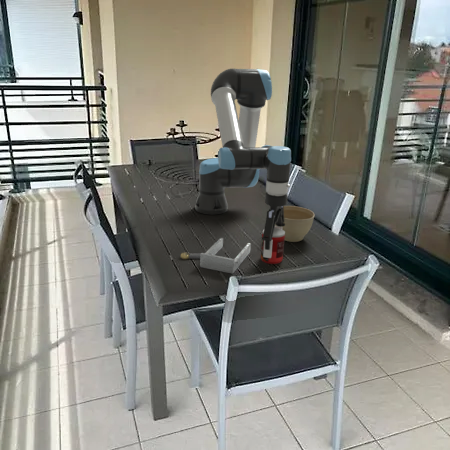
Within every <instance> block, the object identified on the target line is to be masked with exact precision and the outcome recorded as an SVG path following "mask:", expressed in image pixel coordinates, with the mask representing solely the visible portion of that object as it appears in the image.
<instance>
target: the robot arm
mask: <svg viewBox="0 0 450 450" xmlns="http://www.w3.org/2000/svg"><path fill="white" fill-rule="evenodd" d="M272 82H273V81H272V77H271V74H270V72H269V71H268V70H266V69H259V68H228V69H225V70H224V71H221V72H220V73H219V74H218V75H217V76H216V77H215V79H214V81H213V82H212V85H211V88H210V99H211V102H212V104H213V105H214V106H215V113H216V118H217V124H218V127H219V134H220V139H221V140H220V141H221V145H222V147H220V148H219V149H218V152H217V157H212V158H208V159H205V160H202V161H201V162H200V164H199V169H198V170H199V172H198V174H199V176H198V177H199V180H198V181H199V183H198V184H199V186H198V189H199V190H198V195H197V198H196V202H195V205H194V206H195V211H196V212H197V213H200V214H204V215H209V216H210V215H221V214H225V213H226V212H228V210H229V208H228V207H229V204H228V202H227V197H226V195H225V189H227V188H229V189H230V188H244V189H246V188H253V187H255V186H256V185H257V184H258V181H259V178H260V170H266V181H265V183H266V184H265V192H266V193H265V197H264V198H265V199H264V202H265V205H267V206H269V209H268V210H266V218H265V224H264V227H263V228H264V234H263V237H262V236H261V241H262V240H264V252H263V257H266V258H271V256H272V242H273V240H272V236H273V232H274V228H279V229H282V227H281V226H285V223H284V206H287V205H288V197H289V195H288V192H289V188H290V187H291V185H290V184H289V181H290V172H291V163H292V150H291V148H289V147H287V146H282V145H269V144H267V145H266V144H265V145H263V146H261V147H256V145H257V138H258V131H259V130H258V129H259V124H260V115H261V110H262V109H263V108H264V107H265V106H266V101H269V100H271V98H272V96H273V84H272ZM235 101H237V102H235ZM236 103H237V104H238V105H239V106H240V107H239V113H238V112H237V107H236ZM238 115H239V116H238ZM275 224H276V225H277V226H275Z"/></svg>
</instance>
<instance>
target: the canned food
mask: <svg viewBox="0 0 450 450" xmlns="http://www.w3.org/2000/svg"><path fill="white" fill-rule="evenodd" d="M263 234H264V229H263V230H262V233H261V238H262V237H263ZM272 240H273V242H272V256H271V258H266V257H263V252H264V240H262V239H261V244H260V245H261V247H260V260H261V261H262V262H263V263H265V264H270V265H277V264H281V262H283V260H284V250H285V232H284V231H283V230H282V229H279V228H274V232H273V236H272Z"/></svg>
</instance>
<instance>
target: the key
mask: <svg viewBox="0 0 450 450" xmlns="http://www.w3.org/2000/svg"><path fill="white" fill-rule="evenodd" d="M201 253H202V252H201ZM201 253H199V252H196V253H192V252H191V253H189V252H181V253H180V259H181V260H189V259H191V260H192V259H194V260H195V259H199V260H200V254H201Z"/></svg>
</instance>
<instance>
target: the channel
mask: <svg viewBox="0 0 450 450" xmlns="http://www.w3.org/2000/svg"><path fill="white" fill-rule="evenodd" d="M251 245H252V244H251V243H250V242H248V243H246V245H245V246H244V247H242V249H241V251H240V252H239V253H238V255H237V256H236V257H235V258H230V257H226V256H221V255H217V253H218V252H219V251H220V250H221V249H222V248H223V246H224V237H220V238H219V239H218V240H217V241H216V242H214V243H213V244H212V245H211V246H210V248H209V249H207V251H206V252H201V254H200V259H199V262H200V263H199V267H200V268H204V269H208V270H213V271H217V272H218V271H219V272H223V273H229V274H234V273H235V272H236V271H237V270H238V268H239V267H240V265H241V264H242V263H244V261H245V259H246V258H247V256H248V255H249V254H250V253H251V247H252V246H251Z"/></svg>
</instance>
